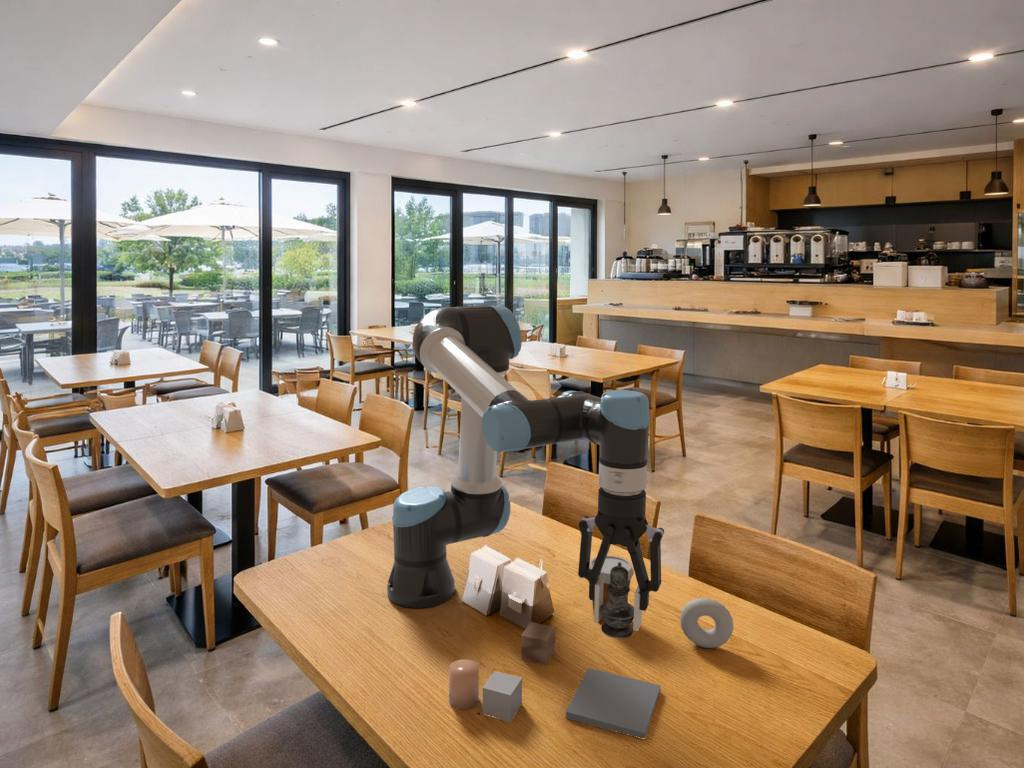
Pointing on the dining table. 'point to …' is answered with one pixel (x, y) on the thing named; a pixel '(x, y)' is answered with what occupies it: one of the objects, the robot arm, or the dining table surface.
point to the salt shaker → (618, 606)
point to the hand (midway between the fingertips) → (617, 621)
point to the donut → (713, 610)
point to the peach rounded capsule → (463, 684)
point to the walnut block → (538, 643)
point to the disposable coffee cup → (605, 574)
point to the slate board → (614, 702)
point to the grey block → (502, 696)
